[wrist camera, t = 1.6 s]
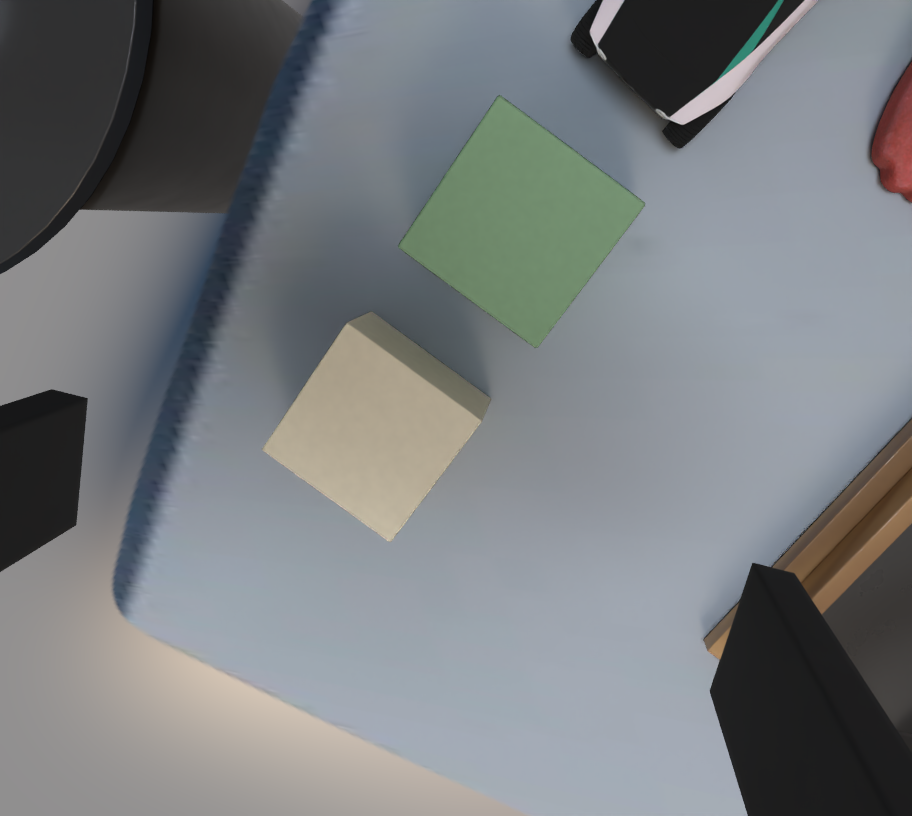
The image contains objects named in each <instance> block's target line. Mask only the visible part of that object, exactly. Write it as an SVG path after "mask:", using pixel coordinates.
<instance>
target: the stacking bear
mask: <svg viewBox="0 0 912 816" xmlns="http://www.w3.org/2000/svg"><path fill="white" fill-rule="evenodd" d="M871 157H872V161H873V163H874V164H875V165H876V166H877V167H878V168H879V169H880V179H881V183H882V184H883V186H884V187H885V188H886V189H887V190H888V191H890V192H893V193H901V194H903V196H904V197H905V198H906V199H907V200H909V201H910V202H912V62H911V63H910V65H909V66H908V68H907V69H906V71H905V72H904V74H903V76H902V78H901V79H900V81H899V83H898V84H897V86H896V88H895V89H894V91H893V93H892V95H891V97H890V99H889V101H888V104H887V106H886V108H885V110H884V112H883V115H882V117H881V120H880V122H879V125H878V128H877V131H876V134H875V138H874V141H873V146H872V154H871Z"/></svg>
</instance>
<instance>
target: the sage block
mask: <svg viewBox="0 0 912 816" xmlns="http://www.w3.org/2000/svg"><path fill="white" fill-rule="evenodd" d="M644 206H645V203H644V202H643V201H642V200H641V199H639V198H638V197H637V196H635V195H634V194H633V193H631V192H630V191H629V190H627V189H626V188H624V187H623V186H622V185H620V184H619V183H618V182H616V181H615V180H614V179H612V178H611V177H610V176H608V175H607V174H606V173H604V172H603V171H602V170H600V169H599V168H598V167H596V166H595V165H594V164H592V163H591V162H589V161H588V160H587V159H585V158H584V157H583V156H581V155H580V154H579V153H577V152H576V151H575V150H573V149H572V148H571V147H569V146H568V145H567V144H565V143H564V142H563V141H561V140H560V139H559V138H557V137H556V136H554V135H553V134H552V133H550V132H549V131H548V130H546V129H545V128H544V127H542V126H541V125H540V124H538V123H537V122H536V121H534V120H533V119H532V118H530V117H529V116H528V115H526V114H525V113H524V112H522V111H521V110H520V109H518V108H517V107H515V106H514V105H513V104H511V103H510V102H509V101H507V100H506V99H505V98H503V97H502V96H500V95H499V96H497V98H496V99H495V101H494V102H493V104H492V105H491V107H490V108H489V110H488V111H487V113H486V114H485V116H484V117H483V119H482V120H481V122H480V123H479V125H478V126H477V128H476V129H475V131H474V132H473V134H472V135H471V137H470V138H469V140H468V141H467V143H466V144H465V146H464V147H463V149H462V150H461V152H460V153H459V155H458V156H457V158H456V159H455V161H454V162H453V164H452V165H451V167H450V168H449V170H448V171H447V173H446V174H445V176H444V177H443V179H442V180H441V182H440V183H439V185H438V186H437V188H436V189H435V191H434V192H433V194H432V195H431V197H430V198H429V200H428V201H427V203H426V204H425V206H424V207H423V209H422V210H421V212H420V213H419V215H418V216H417V218H416V219H415V221H414V222H413V224H412V225H411V227H410V228H409V230H408V231H407V233H406V234H405V236H404V237H403V239H402V240H401V242H400V243H399V245H398V247H399V248H400V249H401V250H402V251H404V252H405V253H406V254H408V255H409V256H410V257H412V258H413V259H415V260H416V261H417V262H419V263H420V264H421V265H423V266H424V267H425V268H427V269H428V270H430V271H431V272H432V273H434V274H435V275H436V276H438V277H439V278H440V279H442V280H443V281H445V282H446V283H447V284H449V285H450V286H451V287H453V288H454V289H455V290H457V291H458V292H460V293H461V294H462V295H464V296H465V297H466V298H468V299H469V300H470V301H472V302H473V303H475V304H476V305H477V306H479V307H480V308H481V309H483V310H484V311H485V312H487V313H488V314H490V315H491V316H492V317H494V318H495V319H496V320H498V321H499V322H500V323H502V324H503V325H505V326H506V327H507V328H509V329H510V330H511V331H513V332H514V333H515V334H517V335H518V336H520V337H521V338H522V339H524V340H525V341H526V342H528V343H529V344H530V345H532V346H533V347H535V348H537V347H538V346H539V345H540V344H541V342H542V341H543V340H544V338H545V337H546V336H547V334H548V333H549V332H550V331H551V329H552V328H553V327H554V325H555V324H556V323H557V321H558V320H559V319H560V317H561V316H562V315H563V313H564V312H565V311H566V309H567V308H568V307H569V305H570V304H571V303H572V301H573V300H574V299H575V297H576V296H577V295H578V293H579V292H580V291H581V289H582V288H583V287H584V286H585V284H586V283H587V282H588V280H589V279H590V278H591V276H592V275H593V274H594V272H595V271H596V270H597V268H598V267H599V266H600V264H601V263H602V262H603V260H604V259H605V258H606V256H607V255H608V254H609V252H610V251H611V250H612V248H613V247H614V246H615V244H616V243H617V242H618V240H619V239H620V238H621V237H622V235H623V234H624V233H625V231H626V230H627V229H628V227H629V226H630V225H631V223H632V222H633V221H634V219H635V218H636V217H637V215H638V214H639V213H640V211H641V210H642V209H643V207H644Z"/></svg>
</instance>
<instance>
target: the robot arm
mask: <svg viewBox="0 0 912 816" xmlns="http://www.w3.org/2000/svg"><path fill="white" fill-rule="evenodd" d="M86 410H87V398H84V397H80V396H76V395H72V394H68V393H64V392H60V391H56V390H48V391H45V392H42V393H39V394H36V395H33V396H30V397H27V398H23V399H21V400H17V401H14V402H11V403H8V404H5V405H2V406H0V572H1V571H2V570H4V569H6V568H7V567H9V566H11V565H12V564H14V563H15V562H17V561H19V560H20V559H22V558H23V557H25V556H27V555H28V554H30V553H32V552H33V551H35V550H37V549H38V548H40V547H41V546H43V545H45V544H46V543H48V542H49V541H51V540H53V539H54V538H56V537H58V536H59V535H61V534H63V533H64V532H66V531H67V530H69V529H70V528H72V527H74V526H75V525H76V522H77V521H76V520H77V511H78V500H79V488H80V477H81V466H82V455H83V444H84V433H85V422H86ZM710 694H711V697H712V700H713V703H714V707H715V710H716V713H717V716H718V720H719V723H720V726H721V729H722V733H723V736H724V739H725V742H726V746H727V749H728V752H729V755H730V759H731V762H732V765H733V769H734V772H735V775H736V778H737V782H738V785H739V788H740V791H741V795H742V798H743V801H744V804H745V808H746V811H747V814H748V816H912V734H909V733H905V732H902V731H898V730H897V729H896V728H895V726H894V725H893V723H892V722H891V720H890V719H889V717H888V715H887V714H886V712H885V711H884V709H883V708H882V706H881V705H880V703H879V702H878V700H877V699H876V697H875V696H874V694H873V692H872V691H871V689H870V688H869V686H868V685H867V683H866V682H865V680H864V679H863V677H862V676H861V674H860V673H859V671H858V670H857V668H856V666H855V665H854V663H853V662H852V660H851V659H850V657H849V656H848V654H847V653H846V651H845V650H844V648H843V647H842V645H841V644H840V642H839V640H838V639H837V637H836V636H835V634H834V633H833V631H832V630H831V628H830V627H829V625H828V624H827V622H826V621H825V619H824V617H823V616H822V614H821V613H820V611H819V610H818V608H817V607H816V605H815V604H814V602H813V601H812V599H811V598H810V596H809V595H808V593H807V591H806V590H805V588H804V587H803V585H802V584H801V582H800V581H799V579H798V578H797V576H796V575H795V573H792V572H788V571H784V570H780V569H776V568H772V567H768V566H764V565H760V564H756V563H752V566H751V569H750V572H749V575H748V578H747V581H746V584H745V587H744V590H743V593H742V596H741V599H740V602H739V605H738V608H737V611H736V614H735V617H734V620H733V623H732V626H731V629H730V632H729V635H728V638H727V641H726V644H725V647H724V650H723V653H722V656H721V659H720V662H719V665H718V668H717V671H716V674H715V677H714V680H713V683H712V686H711V689H710Z"/></svg>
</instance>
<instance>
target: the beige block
mask: <svg viewBox="0 0 912 816" xmlns="http://www.w3.org/2000/svg"><path fill="white" fill-rule="evenodd" d="M490 401H491V398H490V397H488V396H487V395H486V394H484V393H483V392H481V391H480V390H479V389H477V388H476V387H475V386H473V385H472V384H470V383H469V382H468V381H466V380H465V379H464V378H462V377H461V376H460V375H458V374H457V373H455V372H454V371H453V370H451V369H450V368H449V367H447V366H446V365H444V364H443V363H442V362H440V361H439V360H438V359H436V358H435V357H433V356H432V355H431V354H429V353H428V352H427V351H425V350H424V349H423V348H421V347H420V346H418V345H417V344H416V343H414V342H413V341H412V340H410V339H409V338H407V337H406V336H405V335H403V334H402V333H401V332H399V331H398V330H397V329H395V328H394V327H392V326H391V325H390V324H388V323H387V322H386V321H384V320H383V319H381V318H380V317H379V316H377V315H376V314H375V313H373V312H369V313H367V314H364V315H362V316H360V317H358V318H356V319H353V320H351V321H349V322H347V323H346V324H345V326H344V327H343V329H342V330H341V332H340V333H339V335H338V336H337V338H336V339H335V341H334V342H333V344H332V345H331V347H330V348H329V350H328V351H327V353H326V354H325V355H324V357H323V358H322V360H321V361H320V363H319V364H318V366H317V367H316V369H315V370H314V372H313V373H312V375H311V376H310V378H309V379H308V381H307V382H306V384H305V385H304V387H303V388H302V390H301V391H300V393H299V394H298V396H297V397H296V399H295V400H294V402H293V403H292V405H291V406H290V408H289V409H288V411H287V412H286V414H285V415H284V417H283V418H282V420H281V421H280V423H279V424H278V426H277V427H276V429H275V430H274V432H273V433H272V435H271V436H270V438H269V439H268V441H267V442H266V444H265V445H264V447H263V448H262V450H263V451H264V452H265V453H267V454H268V455H270V456H271V457H272V458H274V459H275V460H276V461H278V462H279V463H281V464H282V465H283V466H285V467H286V468H288V469H289V470H290V471H292V472H293V473H295V474H296V475H297V476H299V477H300V478H301V479H303V480H304V481H306V482H307V483H308V484H310V485H311V486H313V487H314V488H315V489H317V490H318V491H319V492H321V493H322V494H324V495H325V496H326V497H328V498H329V499H331V500H332V501H333V502H335V503H336V504H338V505H339V506H340V507H342V508H343V509H344V510H346V511H347V512H349V513H350V514H351V515H353V516H354V517H356V518H357V519H358V520H360V521H361V522H363V523H364V524H365V525H367V526H368V527H369V528H371V529H372V530H374V531H375V532H376V533H378V534H379V535H381V536H382V537H383V538H385V539H386V540H387V541H389V542H391V541H392V540H393V538H394V537H395V536H396V534H397V533H398V532H399V531H400V529H401V528H402V527H403V525H404V524H405V523H406V521H407V520H408V519H409V517H410V516H411V515H412V513H413V512H414V511H415V509H416V508H417V507H418V505H419V504H420V503H421V501H422V500H423V499H424V497H425V496H426V495H427V493H428V492H429V491H430V489H431V488H432V487H433V486H434V484H435V483H436V482H437V480H438V479H439V478H440V476H441V475H442V474H443V472H444V471H445V470H446V468H447V467H448V466H449V464H450V463H451V462H452V460H453V459H454V458H455V456H456V455H457V454H458V452H459V451H460V450H461V448H462V447H463V446H464V444H465V443H466V442H467V440H468V439H469V438H470V437H471V435H472V434H473V433H474V431H475V430H476V429H477V427H478V426H479V425H480V423H481V422H482V420H483V417H484V415H485V413H486V410H487V408H488V405H489V403H490Z"/></svg>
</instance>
